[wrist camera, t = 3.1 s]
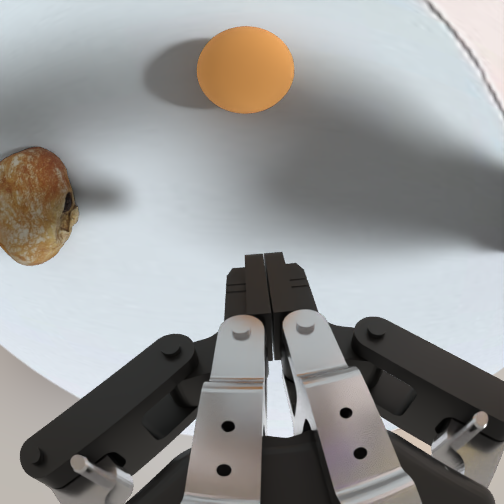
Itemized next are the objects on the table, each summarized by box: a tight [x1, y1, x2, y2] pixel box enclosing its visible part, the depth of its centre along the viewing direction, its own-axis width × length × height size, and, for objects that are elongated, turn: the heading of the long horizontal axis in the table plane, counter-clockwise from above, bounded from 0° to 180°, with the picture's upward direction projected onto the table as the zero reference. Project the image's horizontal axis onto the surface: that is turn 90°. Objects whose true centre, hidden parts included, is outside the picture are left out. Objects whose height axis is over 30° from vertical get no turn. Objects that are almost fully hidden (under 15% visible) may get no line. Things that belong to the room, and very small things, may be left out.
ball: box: [197, 26, 294, 114], centre depth 13 cm, size 5×5×5 cm
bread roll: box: [0, 147, 79, 266], centre depth 17 cm, size 10×10×8 cm
